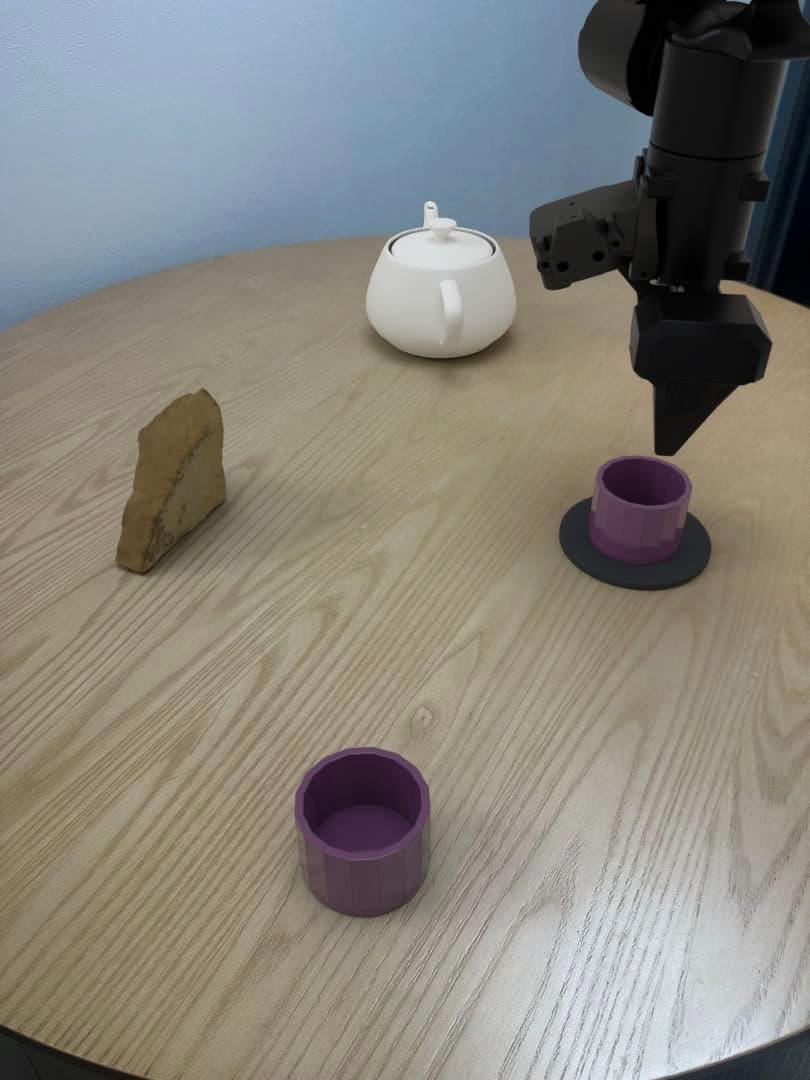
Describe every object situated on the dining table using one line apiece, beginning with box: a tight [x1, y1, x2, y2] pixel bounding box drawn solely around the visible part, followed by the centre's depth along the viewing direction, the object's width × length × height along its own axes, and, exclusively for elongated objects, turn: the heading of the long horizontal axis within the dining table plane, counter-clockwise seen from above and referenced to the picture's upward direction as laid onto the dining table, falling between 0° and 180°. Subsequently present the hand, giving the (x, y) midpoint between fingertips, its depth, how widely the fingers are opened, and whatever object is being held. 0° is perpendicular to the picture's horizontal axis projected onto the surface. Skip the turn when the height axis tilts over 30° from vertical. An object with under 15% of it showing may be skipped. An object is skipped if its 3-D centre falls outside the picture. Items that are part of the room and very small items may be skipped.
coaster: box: [558, 495, 712, 591], centre depth 63 cm, size 10×10×1 cm
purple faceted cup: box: [293, 746, 432, 918], centre depth 43 cm, size 6×6×4 cm
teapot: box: [365, 200, 517, 359], centre depth 85 cm, size 22×14×11 cm, turn 4°
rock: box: [114, 387, 227, 574], centre depth 63 cm, size 11×9×10 cm
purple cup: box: [589, 454, 693, 565], centre depth 62 cm, size 6×6×4 cm
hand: (656, 412), depth 57 cm, fingers open, 9 cm apart
